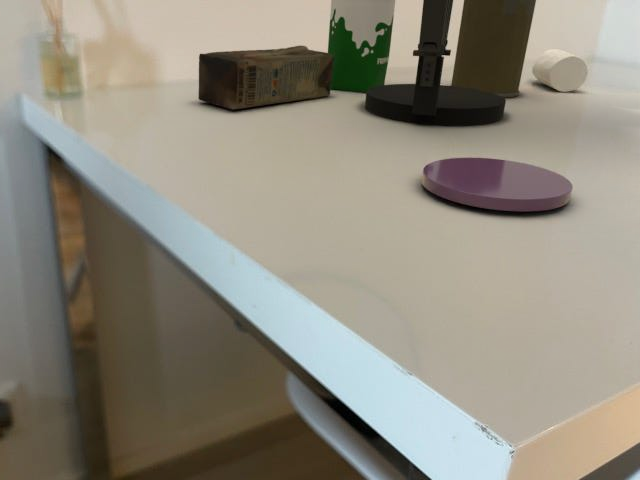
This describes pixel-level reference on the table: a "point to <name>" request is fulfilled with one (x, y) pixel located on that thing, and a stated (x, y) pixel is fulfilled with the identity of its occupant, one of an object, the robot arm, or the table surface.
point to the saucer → (496, 184)
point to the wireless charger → (451, 105)
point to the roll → (560, 70)
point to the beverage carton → (264, 76)
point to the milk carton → (360, 42)
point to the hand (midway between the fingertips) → (423, 113)
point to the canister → (493, 45)
